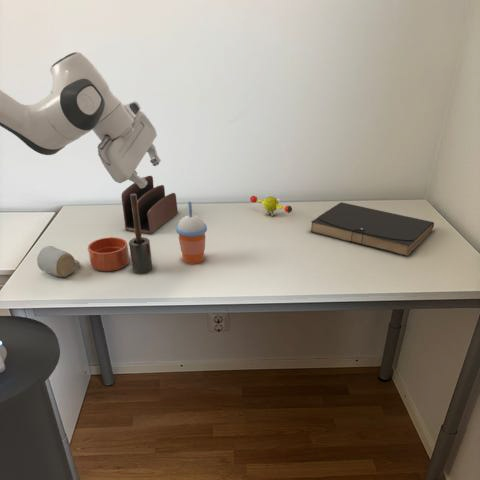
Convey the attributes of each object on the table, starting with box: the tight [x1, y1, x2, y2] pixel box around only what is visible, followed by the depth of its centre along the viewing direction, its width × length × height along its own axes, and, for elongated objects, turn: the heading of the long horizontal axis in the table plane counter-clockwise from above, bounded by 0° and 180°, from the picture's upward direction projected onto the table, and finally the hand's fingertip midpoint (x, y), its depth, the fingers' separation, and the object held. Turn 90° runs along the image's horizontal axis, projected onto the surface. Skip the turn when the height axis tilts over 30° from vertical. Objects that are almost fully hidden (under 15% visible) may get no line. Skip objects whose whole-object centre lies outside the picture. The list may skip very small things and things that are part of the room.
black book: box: [310, 201, 435, 257], centre depth 169 cm, size 33×4×24 cm
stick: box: [130, 194, 143, 244], centre depth 143 cm, size 2×2×22 cm
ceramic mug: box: [36, 245, 80, 278], centre depth 147 cm, size 11×8×8 cm
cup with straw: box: [175, 201, 208, 265], centre depth 150 cm, size 9×9×18 cm
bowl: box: [87, 236, 130, 272], centre depth 151 cm, size 11×11×6 cm
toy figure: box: [249, 195, 293, 217], centre depth 181 cm, size 18×6×7 cm, turn 49°
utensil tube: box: [128, 236, 154, 275], centre depth 147 cm, size 6×6×9 cm
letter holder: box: [121, 175, 179, 235], centre depth 176 cm, size 10×20×14 cm, turn 159°
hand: (151, 174), depth 123 cm, fingers open, 8 cm apart
